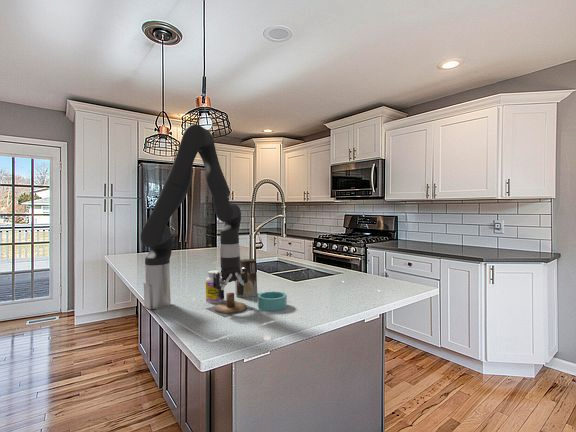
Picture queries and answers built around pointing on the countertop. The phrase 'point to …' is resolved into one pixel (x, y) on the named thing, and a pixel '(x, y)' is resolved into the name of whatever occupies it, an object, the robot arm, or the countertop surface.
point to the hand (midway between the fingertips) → (231, 297)
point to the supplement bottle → (211, 289)
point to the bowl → (272, 301)
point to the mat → (231, 313)
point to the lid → (230, 305)
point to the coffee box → (251, 285)
